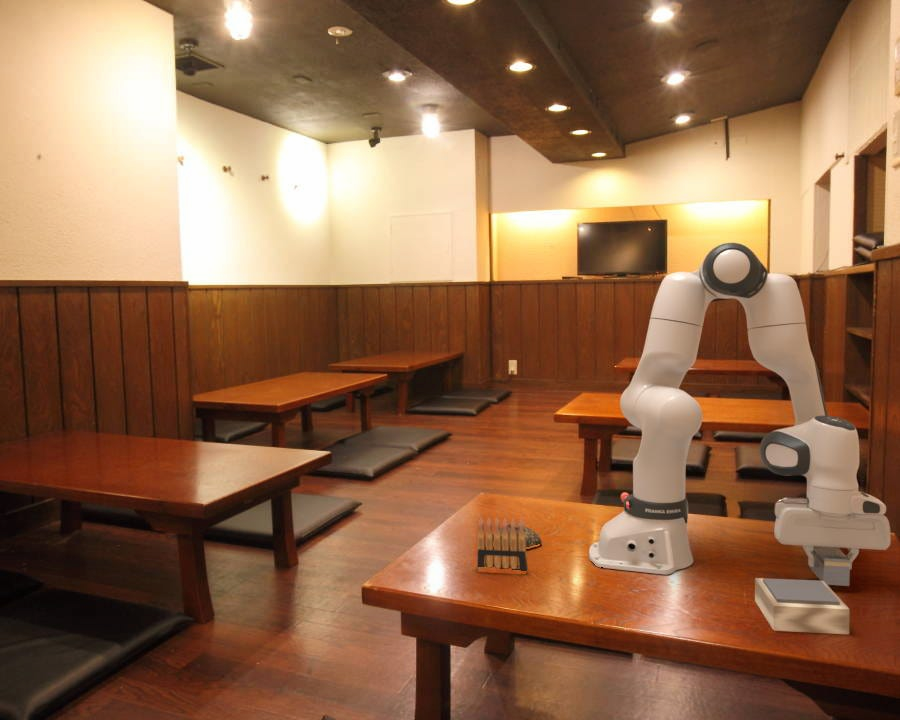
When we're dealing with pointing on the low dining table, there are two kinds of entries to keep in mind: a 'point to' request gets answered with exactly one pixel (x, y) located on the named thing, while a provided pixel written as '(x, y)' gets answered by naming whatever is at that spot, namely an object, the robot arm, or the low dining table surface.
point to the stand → (801, 606)
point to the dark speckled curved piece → (529, 534)
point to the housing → (831, 565)
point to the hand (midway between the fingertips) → (829, 567)
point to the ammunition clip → (504, 555)
